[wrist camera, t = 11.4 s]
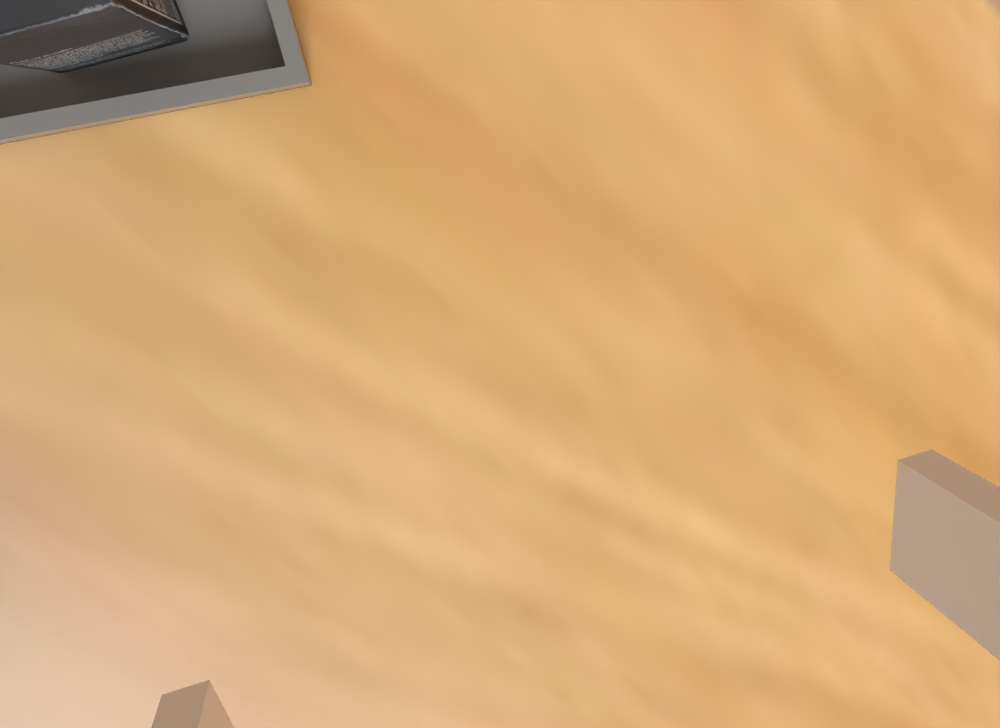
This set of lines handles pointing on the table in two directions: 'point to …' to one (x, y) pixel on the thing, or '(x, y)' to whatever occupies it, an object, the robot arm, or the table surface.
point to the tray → (163, 72)
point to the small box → (84, 31)
